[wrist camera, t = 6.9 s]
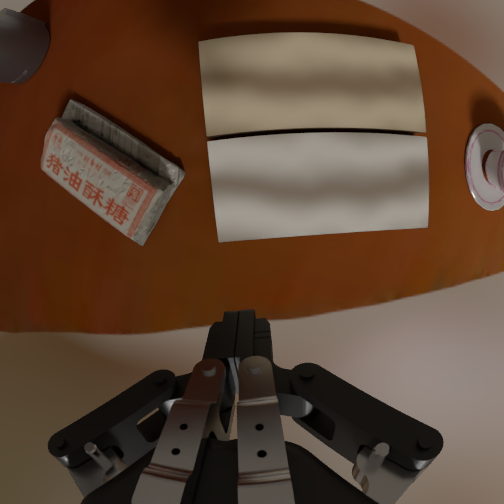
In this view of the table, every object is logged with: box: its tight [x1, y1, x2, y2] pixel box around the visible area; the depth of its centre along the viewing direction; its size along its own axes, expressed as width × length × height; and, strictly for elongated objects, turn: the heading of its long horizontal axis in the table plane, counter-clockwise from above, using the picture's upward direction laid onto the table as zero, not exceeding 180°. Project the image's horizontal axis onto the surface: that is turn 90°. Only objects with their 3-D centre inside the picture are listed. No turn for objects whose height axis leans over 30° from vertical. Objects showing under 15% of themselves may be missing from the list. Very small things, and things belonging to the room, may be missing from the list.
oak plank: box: [198, 32, 426, 138], centre depth 23 cm, size 10×22×3 cm, turn 96°
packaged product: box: [41, 99, 185, 246], centre depth 26 cm, size 18×5×10 cm
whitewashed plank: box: [207, 132, 429, 242], centre depth 26 cm, size 10×22×2 cm, turn 96°
